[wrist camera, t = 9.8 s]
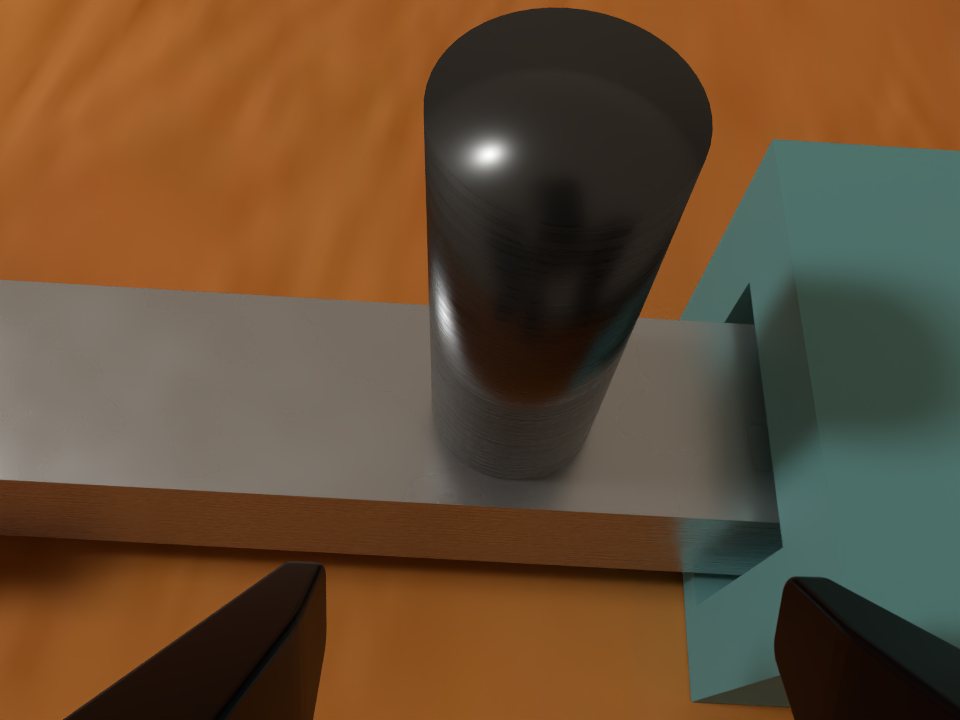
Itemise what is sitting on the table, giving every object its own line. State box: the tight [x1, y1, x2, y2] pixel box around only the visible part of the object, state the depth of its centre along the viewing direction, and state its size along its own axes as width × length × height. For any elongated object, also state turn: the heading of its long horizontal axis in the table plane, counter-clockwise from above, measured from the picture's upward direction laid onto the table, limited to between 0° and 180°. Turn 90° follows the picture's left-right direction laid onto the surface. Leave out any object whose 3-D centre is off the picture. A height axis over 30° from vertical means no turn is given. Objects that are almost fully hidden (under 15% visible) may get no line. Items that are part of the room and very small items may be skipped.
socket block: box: [680, 139, 960, 707], centre depth 17 cm, size 5×9×8 cm, turn 178°
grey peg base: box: [0, 8, 783, 575], centre depth 13 cm, size 25×4×12 cm, turn 88°
